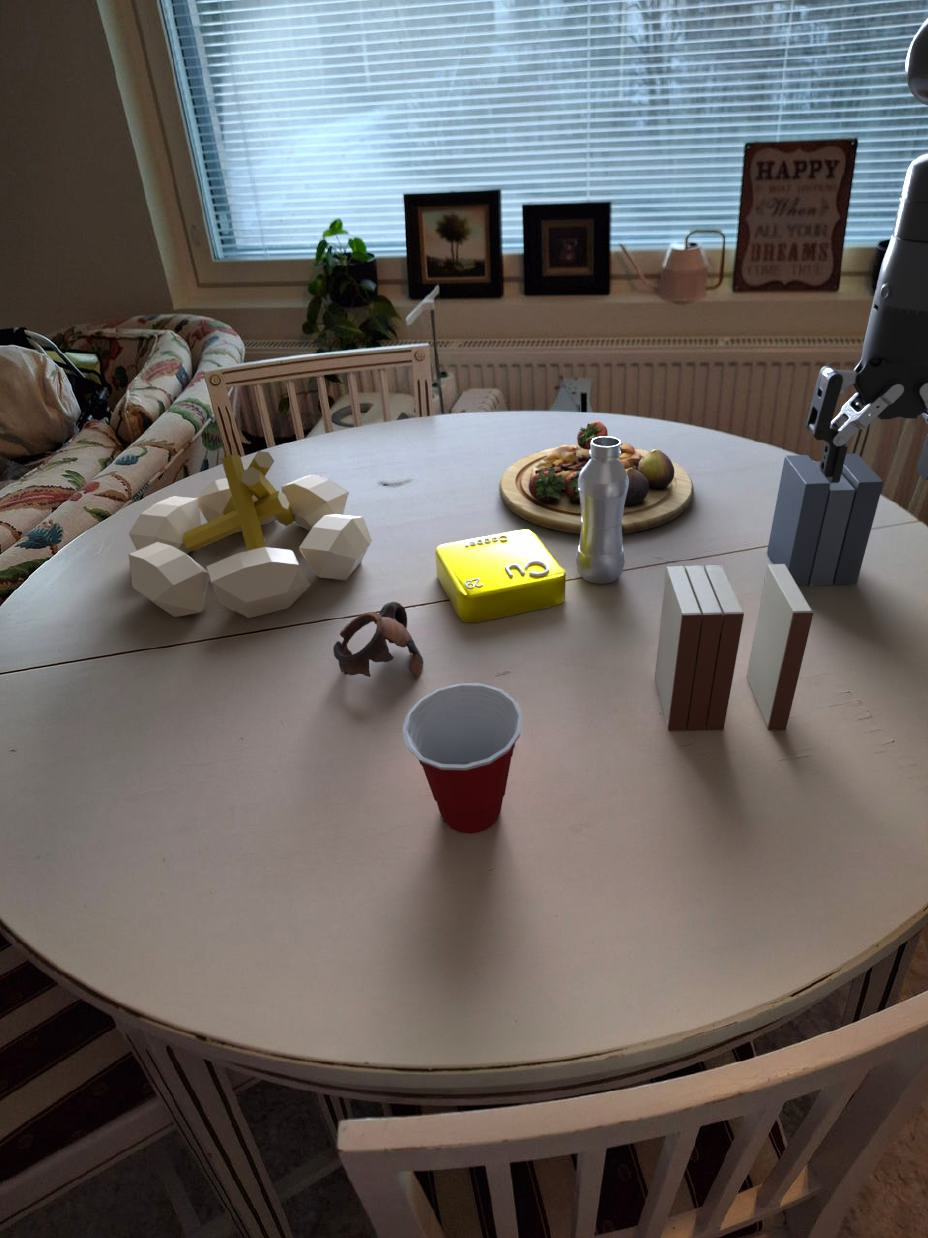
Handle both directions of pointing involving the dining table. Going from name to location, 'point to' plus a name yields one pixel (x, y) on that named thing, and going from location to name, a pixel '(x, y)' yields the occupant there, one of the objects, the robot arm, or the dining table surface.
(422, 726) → the plastic cup
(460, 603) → the element tile
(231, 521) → the campfire
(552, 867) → the dining table surface
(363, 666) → the brown looped sculpture
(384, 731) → the dining table surface
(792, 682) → the cream book
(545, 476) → the wooden plate
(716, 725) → the white books
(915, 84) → the robot arm
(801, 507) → the grey books
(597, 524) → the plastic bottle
